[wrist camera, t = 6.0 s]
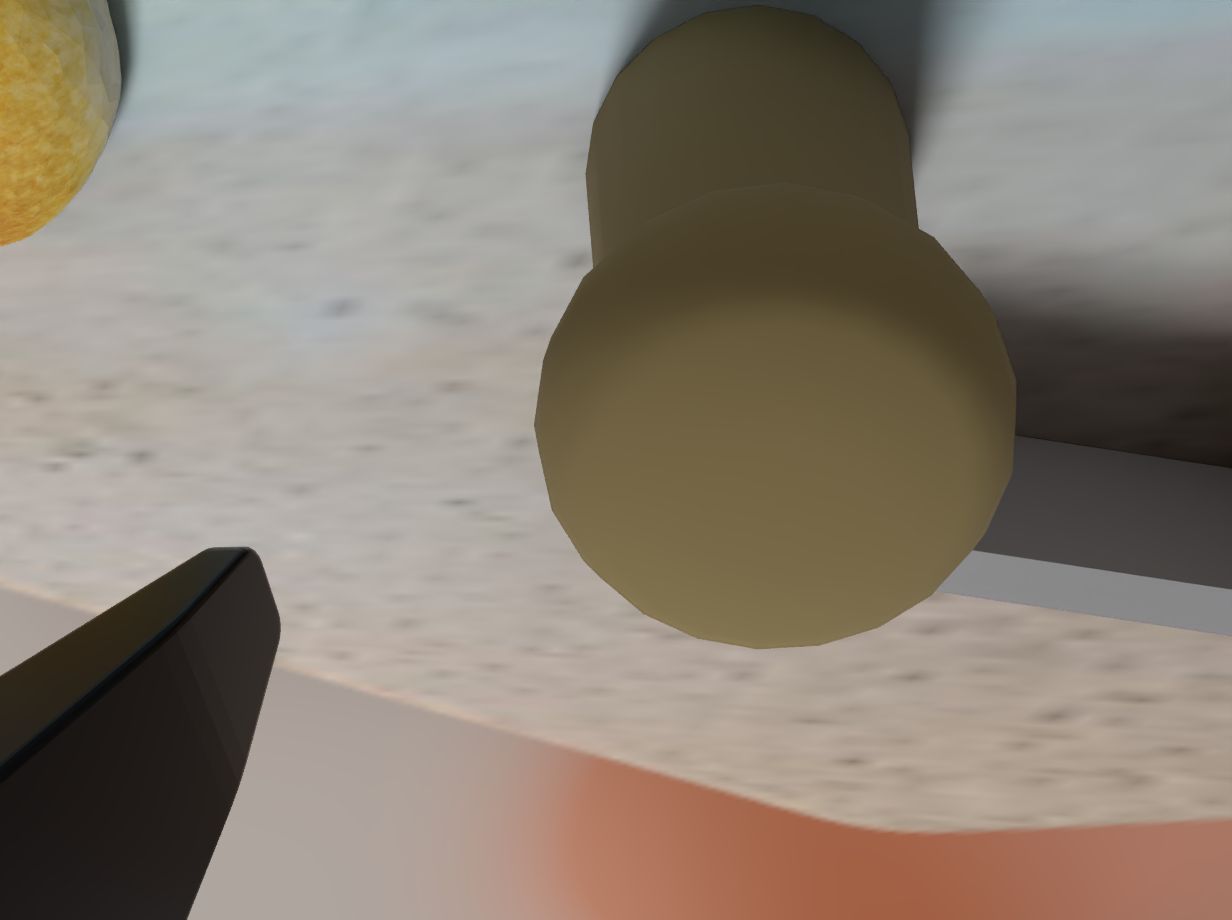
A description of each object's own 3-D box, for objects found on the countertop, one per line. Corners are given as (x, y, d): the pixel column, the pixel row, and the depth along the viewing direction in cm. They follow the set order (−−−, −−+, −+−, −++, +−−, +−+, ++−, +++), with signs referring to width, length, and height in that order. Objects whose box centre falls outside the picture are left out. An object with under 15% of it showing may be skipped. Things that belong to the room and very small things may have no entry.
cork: (933, 283, 20) (1125, 683, 11) (638, 357, 21) (582, 768, 12) (879, -45, 17) (1077, 116, 8) (541, 65, 18) (368, 313, 9)
